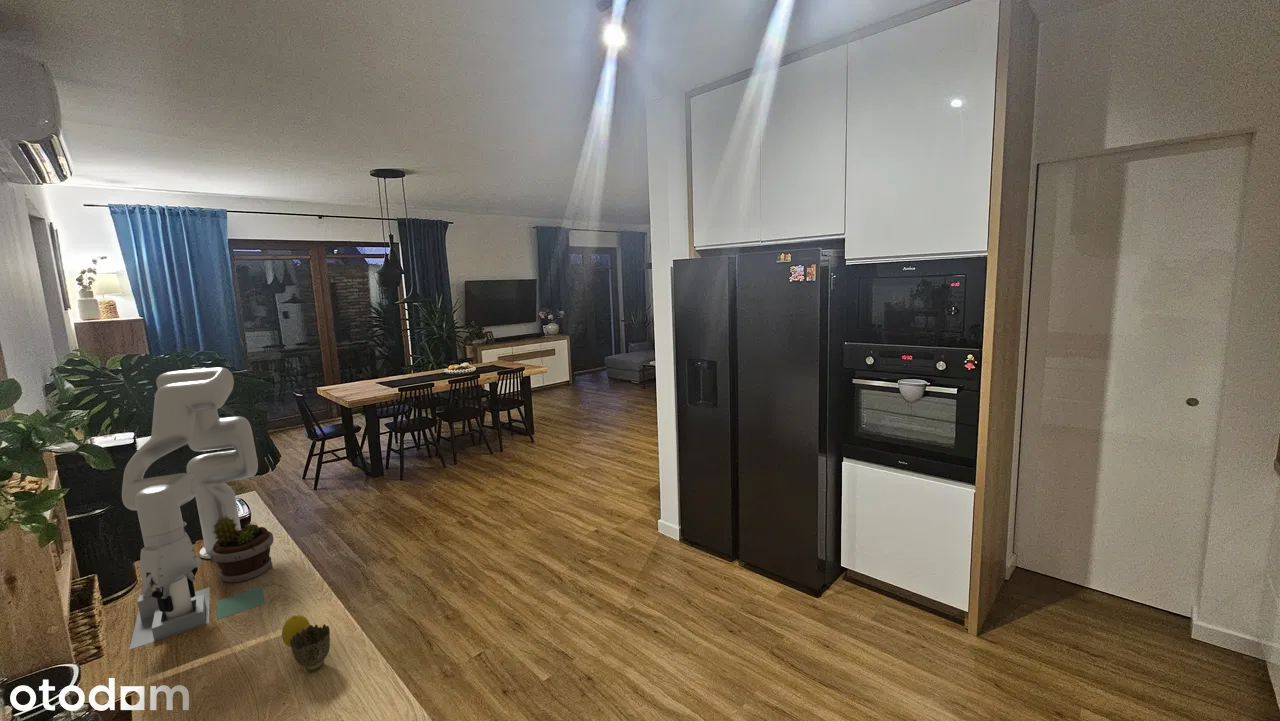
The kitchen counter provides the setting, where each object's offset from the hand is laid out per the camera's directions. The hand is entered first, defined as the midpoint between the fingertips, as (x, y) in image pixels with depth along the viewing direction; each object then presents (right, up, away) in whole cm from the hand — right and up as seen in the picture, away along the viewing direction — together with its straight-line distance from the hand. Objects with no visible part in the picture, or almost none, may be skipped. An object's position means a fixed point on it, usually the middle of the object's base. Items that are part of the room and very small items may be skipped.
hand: (177, 603), depth 133 cm
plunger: (-10, -3, +6) cm, 12 cm away
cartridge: (0, -4, +1) cm, 4 cm away
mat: (+10, -4, +8) cm, 13 cm away
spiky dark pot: (+43, -7, -15) cm, 46 cm away
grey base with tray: (-4, -6, +3) cm, 7 cm away
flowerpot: (+1, -2, +23) cm, 23 cm away
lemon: (+35, -7, -9) cm, 37 cm away
